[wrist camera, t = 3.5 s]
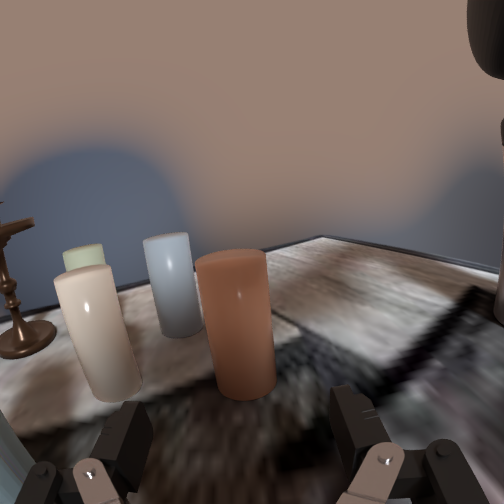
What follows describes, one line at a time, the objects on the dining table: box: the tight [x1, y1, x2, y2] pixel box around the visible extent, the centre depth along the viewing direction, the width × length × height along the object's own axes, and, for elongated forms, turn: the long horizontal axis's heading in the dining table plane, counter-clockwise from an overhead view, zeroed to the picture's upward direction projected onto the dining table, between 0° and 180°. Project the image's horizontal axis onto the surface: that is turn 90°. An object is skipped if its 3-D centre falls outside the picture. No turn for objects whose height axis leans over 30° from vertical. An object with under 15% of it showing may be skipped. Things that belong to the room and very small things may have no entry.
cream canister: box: [54, 264, 142, 403], centre depth 22 cm, size 5×5×10 cm
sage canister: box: [63, 244, 106, 272], centre depth 31 cm, size 5×5×10 cm
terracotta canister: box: [195, 249, 277, 401], centre depth 22 cm, size 5×5×10 cm
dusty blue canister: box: [143, 232, 203, 338], centre depth 32 cm, size 5×5×10 cm
